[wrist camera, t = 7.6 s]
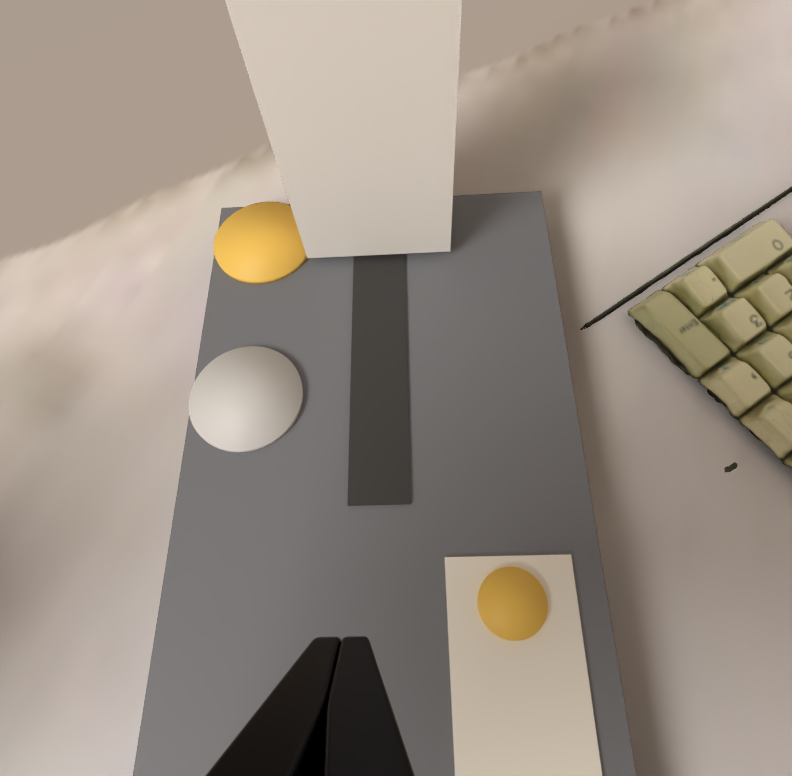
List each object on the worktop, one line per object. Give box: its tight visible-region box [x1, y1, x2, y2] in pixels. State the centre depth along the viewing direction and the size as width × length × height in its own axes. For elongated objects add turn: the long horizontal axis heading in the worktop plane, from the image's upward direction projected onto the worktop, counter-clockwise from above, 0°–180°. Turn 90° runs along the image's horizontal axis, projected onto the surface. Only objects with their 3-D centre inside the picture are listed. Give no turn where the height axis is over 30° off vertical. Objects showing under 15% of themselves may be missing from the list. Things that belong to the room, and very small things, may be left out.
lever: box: [225, 0, 462, 258], centre depth 15 cm, size 4×6×12 cm, turn 91°
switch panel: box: [133, 191, 636, 776], centre depth 17 cm, size 20×12×2 cm, turn 1°
